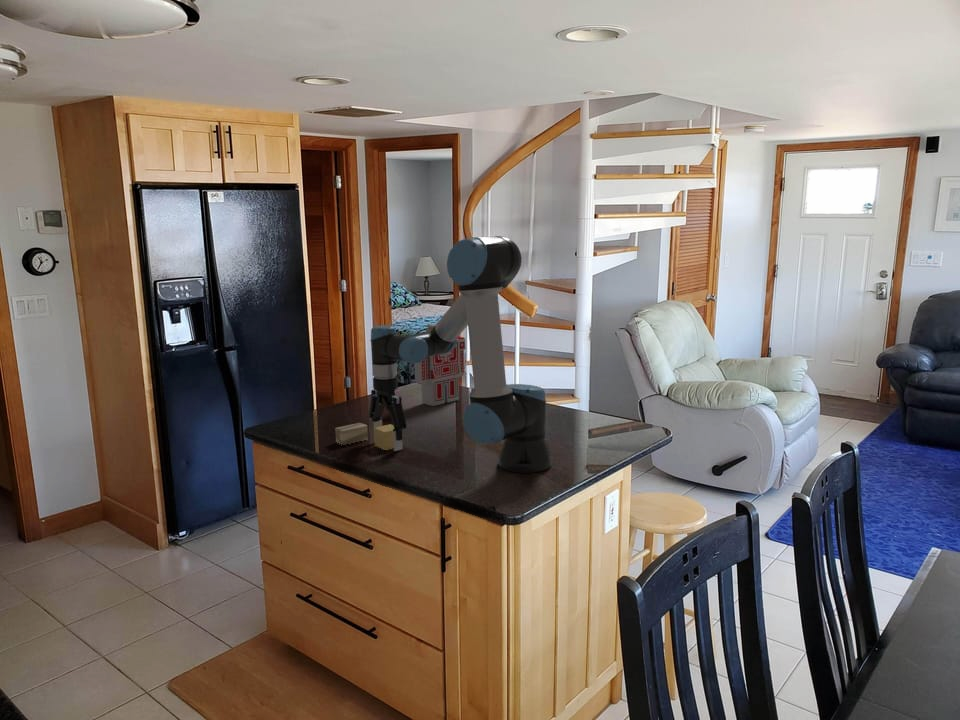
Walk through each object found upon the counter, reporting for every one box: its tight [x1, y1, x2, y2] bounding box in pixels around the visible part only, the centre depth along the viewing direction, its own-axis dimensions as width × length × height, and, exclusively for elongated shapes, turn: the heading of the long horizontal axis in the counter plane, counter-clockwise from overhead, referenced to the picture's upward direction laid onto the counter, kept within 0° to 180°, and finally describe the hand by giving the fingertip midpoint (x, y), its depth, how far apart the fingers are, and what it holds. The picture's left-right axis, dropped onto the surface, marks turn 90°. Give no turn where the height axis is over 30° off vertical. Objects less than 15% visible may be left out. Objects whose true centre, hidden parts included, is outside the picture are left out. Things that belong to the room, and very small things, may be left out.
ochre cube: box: [373, 423, 394, 451], centre depth 224 cm, size 6×6×6 cm
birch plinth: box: [334, 422, 369, 446], centre depth 229 cm, size 4×9×5 cm, turn 129°
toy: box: [413, 322, 467, 407], centre depth 272 cm, size 22×8×30 cm, turn 132°
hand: (388, 445), depth 224 cm, fingers open, 11 cm apart
